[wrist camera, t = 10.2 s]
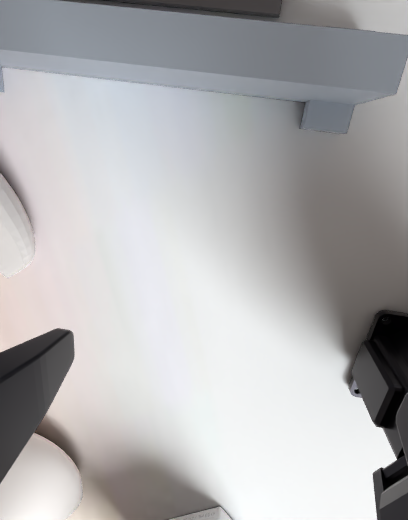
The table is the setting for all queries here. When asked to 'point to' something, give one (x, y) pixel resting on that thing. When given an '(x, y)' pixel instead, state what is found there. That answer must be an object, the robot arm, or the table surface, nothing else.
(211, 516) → the skincare box
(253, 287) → the table surface
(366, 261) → the table surface
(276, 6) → the mat
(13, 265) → the game controller
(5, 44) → the screen
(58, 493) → the flower in vase
